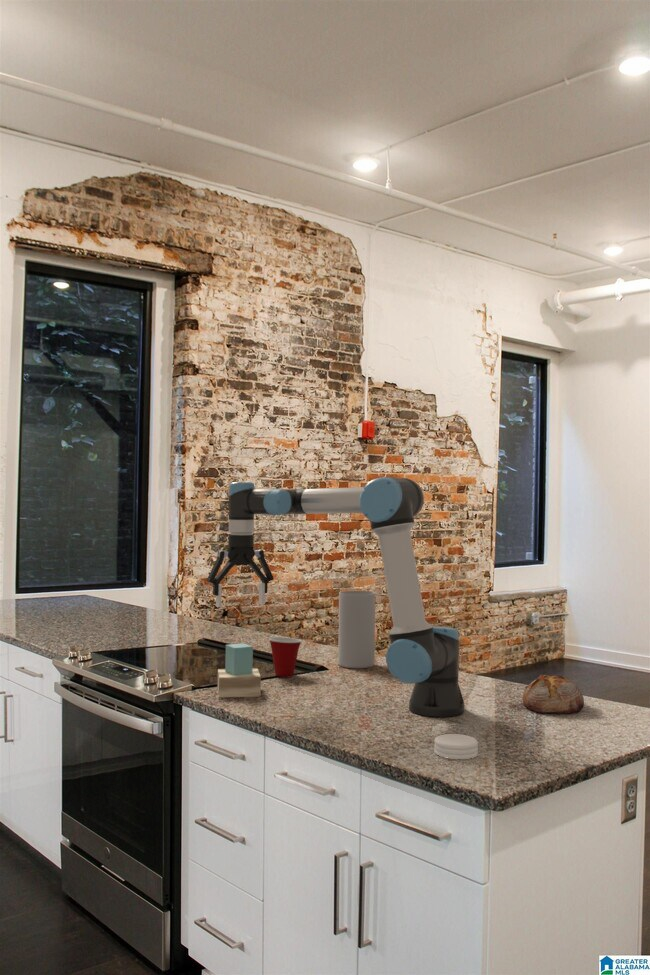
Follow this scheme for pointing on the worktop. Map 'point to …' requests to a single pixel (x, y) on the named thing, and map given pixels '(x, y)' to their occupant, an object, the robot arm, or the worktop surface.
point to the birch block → (239, 684)
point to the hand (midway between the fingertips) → (240, 605)
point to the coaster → (456, 746)
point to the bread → (553, 695)
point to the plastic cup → (284, 655)
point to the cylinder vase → (356, 629)
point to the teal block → (239, 659)
